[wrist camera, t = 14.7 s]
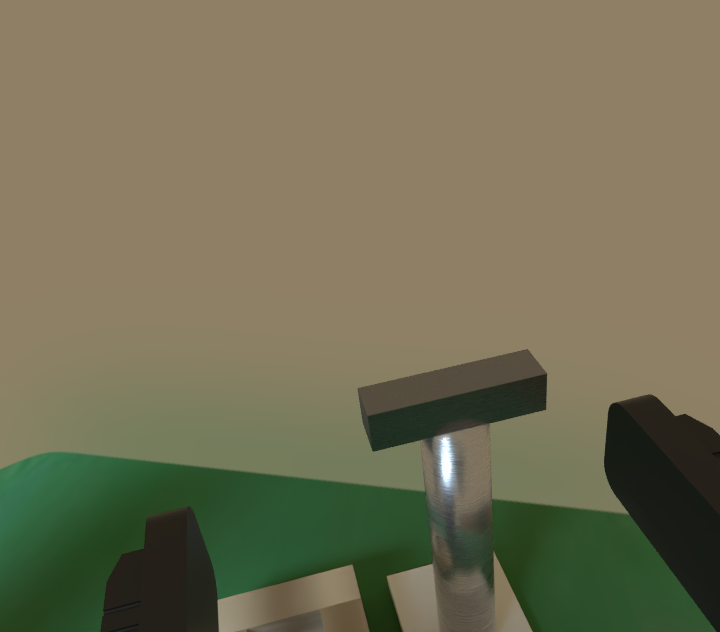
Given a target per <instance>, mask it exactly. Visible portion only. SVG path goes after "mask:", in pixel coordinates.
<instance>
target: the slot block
mask: <svg viewBox="0 0 720 632" xmlns="http://www.w3.org/2000/svg"><path fill="white" fill-rule="evenodd" d="M218 622H219V632H369V628H368V624H367V620H366V616H365V612H364V608H363V604H362V600H361V597H360V593H359V589H358V585H357V581H356V577H355V573H354V569H353V565H348V566H345V567H341V568H337V569H333V570H329V571H326V572H322V573H318V574H314V575H311V576H307V577H303V578H299V579H295V580H292V581H288V582H284V583H280V584H277V585H273V586H269V587H265V588H261V589H258V590H254V591H250V592H246V593H242V594H239V595H235V596H231V597H227V598H224V599H220V600H218Z"/></svg>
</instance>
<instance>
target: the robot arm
mask: <svg viewBox="0 0 720 632" xmlns="http://www.w3.org/2000/svg"><path fill="white" fill-rule="evenodd" d="M604 467H605V472H606V476H607V479H608V482H609V485H610V487H611V489H612V490H613V492H614V494H615V495H616V497H617V498H618V499H619V501H620V502H621V503H622V505H623V506H624V507H625V509H626V510H627V511H628V513H629V514H630V515H631V517H632V518H633V520H634V521H635V522H636V524H637V525H638V526H639V528H640V529H641V530H642V532H643V533H644V534H645V536H646V537H647V538H648V540H649V541H650V542H651V544H652V545H653V546H654V548H655V549H656V551H657V552H658V553H659V555H660V556H661V557H662V559H663V560H664V561H665V563H666V564H667V565H668V567H669V568H670V569H671V571H672V572H673V573H674V575H675V576H676V577H677V579H678V580H679V582H680V583H681V584H682V586H683V587H684V588H685V590H686V591H687V592H688V594H689V595H690V596H691V598H692V599H693V600H694V602H695V603H696V604H697V606H698V607H699V608H700V610H701V611H702V613H703V614H704V615H705V617H706V618H707V619H708V621H709V622H710V623H711V625H712V626H713V627H714V629H715V630H716V631H717V632H720V435H719V434H718V433H717V432H716V431H715V430H713V428H711V427H709V426H707V425H705V424H703V423H701V422H699V421H697V420H696V419H693V418H692V417H690V416H688V415H686V414H683V415H679V416H675V415H673V413H672V412H671V411H670V410H669V409H668V408H667V407H666V406H665V405H664V404H663V403H662V402H661V401H660V400H659V399H658V398H657V397H655V396H653V395H644V396H640V397H637V398H632V399H629V400H625V401H620V402H616V403H613V404H611V405H610V407H609V411H608V421H607V433H606V445H605V457H604ZM103 611H104V616H103V617H102V625H101V632H219V622H218V599H217V588H216V581H215V575H214V571H213V567H212V563H211V560H210V557H209V554H208V551H207V549H206V546H205V543H204V540H203V537H202V535H201V532H200V529H199V526H198V523H197V521H196V518H195V515H194V512H193V510H192V508H191V507H190V506H189V507H185V508H180V509H176V510H172V511H168V512H164V513H160V514H156V515H152V516H149V517H148V518H147V521H146V531H145V545H144V549H141V550H137V551H133V552H129V553H125V554H122V555H121V557H120V559H119V561H118V563H117V564H116V566H115V568H114V570H113V572H112V574H111V575H110V577H109V579H108V581H107V585H106V593H105V601H104V609H103Z"/></svg>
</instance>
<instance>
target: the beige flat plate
mask: <svg viewBox="0 0 720 632" xmlns="http://www.w3.org/2000/svg"><path fill="white" fill-rule="evenodd" d="M493 552H494V551H493ZM387 581H388V587H389V590H390V594H391V597H392V600H393V604H394V607H395V610H396V614H397V617H398V620H399V624H400V627H401V630H402V632H439V623H438V613H437V603H436V593H435V583H434V573H433V564H430V565H426V566H423V567H419V568H415V569H412V570H408V571H404V572H400V573H397V574H393V575H389V576H387ZM494 585H495V618H496V632H532V630H531V628H530V626H529V623H528V621H527V619H526V617H525V615H524V613H523V611H522V609H521V607H520V605H519V603H518V601H517V599H516V597H515V594H514V592H513V590H512V588H511V586H510V584H509V582H508V580H507V578H506V576H505V574H504V572H503V570H502V568H501V565H500V563H499V561H498V559H497V557H496V555H495V553H494Z"/></svg>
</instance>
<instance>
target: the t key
mask: <svg viewBox="0 0 720 632" xmlns="http://www.w3.org/2000/svg"><path fill="white" fill-rule="evenodd" d="M546 392H547V373H546V372H545V371H544V369H543V368H542V367H541V366H540V364H539V363H538V362H537V361H536V359H535V358H534V357H533V355H532V354H531V353H530V352H529V350H528V349H526V350H522V351H518V352H514V353H509V354H505V355H500V356H496V357H492V358H487V359H483V360H479V361H475V362H470V363H466V364H461V365H457V366H453V367H448V368H444V369H440V370H435V371H431V372H427V373H422V374H418V375H414V376H409V377H405V378H401V379H397V380H392V381H388V382H384V383H379V384H375V385H370V386H366V387H362V388H358V394H359V400H360V407H361V413H362V420H363V425H364V427H365V430H366V433H367V436H368V439H369V442H370V445H371V448H372V451H378V450H382V449H386V448H390V447H394V446H398V445H402V444H407V443H410V442H415V441H419V440H420V443H421V453H422V463H423V473H424V483H425V493H426V503H427V513H428V523H429V533H430V543H431V553H432V563H433V573H434V583H435V593H436V603H437V613H438V623H439V632H496V618H495V585H494V552H493V519H492V486H491V455H490V423H493V422H497V421H501V420H506V419H510V418H513V417H518V416H522V415H526V414H530V413H534V412H539V411H542V410H546Z"/></svg>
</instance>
